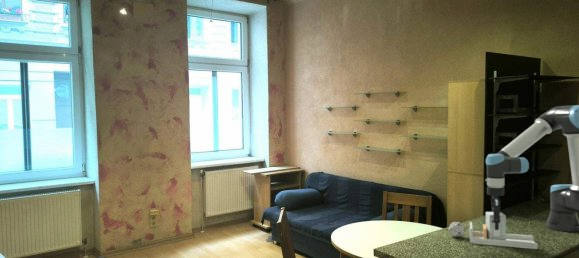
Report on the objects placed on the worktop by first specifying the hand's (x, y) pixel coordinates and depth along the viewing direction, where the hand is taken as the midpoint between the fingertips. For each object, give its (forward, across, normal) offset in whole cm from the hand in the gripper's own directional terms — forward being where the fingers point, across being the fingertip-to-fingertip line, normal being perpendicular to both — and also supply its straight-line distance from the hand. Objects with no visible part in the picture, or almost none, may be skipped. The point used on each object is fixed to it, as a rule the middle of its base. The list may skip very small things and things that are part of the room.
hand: (495, 233), depth 202 cm
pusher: (+3, 0, -5) cm, 6 cm away
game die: (+4, -2, -18) cm, 18 cm away
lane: (+4, 0, +2) cm, 5 cm away
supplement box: (+3, 0, 0) cm, 3 cm away
